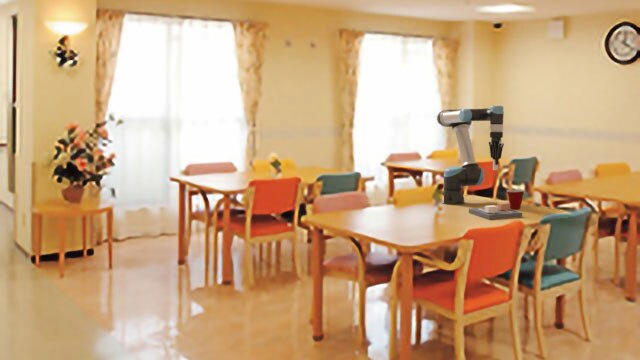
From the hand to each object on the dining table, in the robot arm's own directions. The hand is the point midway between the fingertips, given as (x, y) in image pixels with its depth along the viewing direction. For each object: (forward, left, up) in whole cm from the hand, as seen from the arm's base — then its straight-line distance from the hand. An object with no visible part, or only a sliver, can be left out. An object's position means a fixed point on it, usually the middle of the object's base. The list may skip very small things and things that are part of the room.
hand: (495, 169), depth 396 cm
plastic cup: (+4, +12, -25) cm, 28 cm away
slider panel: (+16, -10, -24) cm, 31 cm away
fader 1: (+21, -16, -21) cm, 34 cm away
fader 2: (+16, -4, -21) cm, 27 cm away
